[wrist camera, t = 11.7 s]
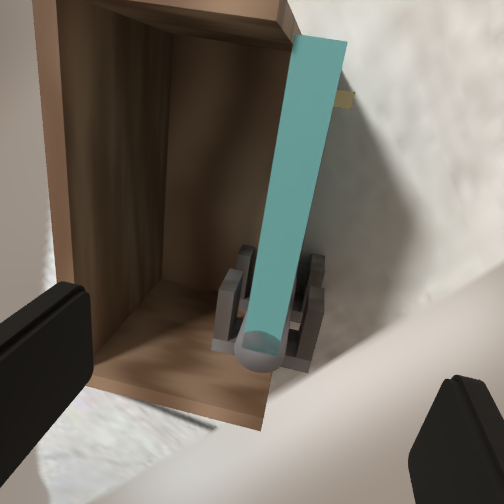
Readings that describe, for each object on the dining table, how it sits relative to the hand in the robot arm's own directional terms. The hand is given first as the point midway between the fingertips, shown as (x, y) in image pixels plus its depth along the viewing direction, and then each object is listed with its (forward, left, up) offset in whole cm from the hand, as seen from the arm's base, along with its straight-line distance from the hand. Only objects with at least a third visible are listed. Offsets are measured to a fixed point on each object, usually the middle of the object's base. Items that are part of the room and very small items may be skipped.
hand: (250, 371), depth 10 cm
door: (0, 0, -21) cm, 21 cm away
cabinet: (+4, +1, -21) cm, 21 cm away
